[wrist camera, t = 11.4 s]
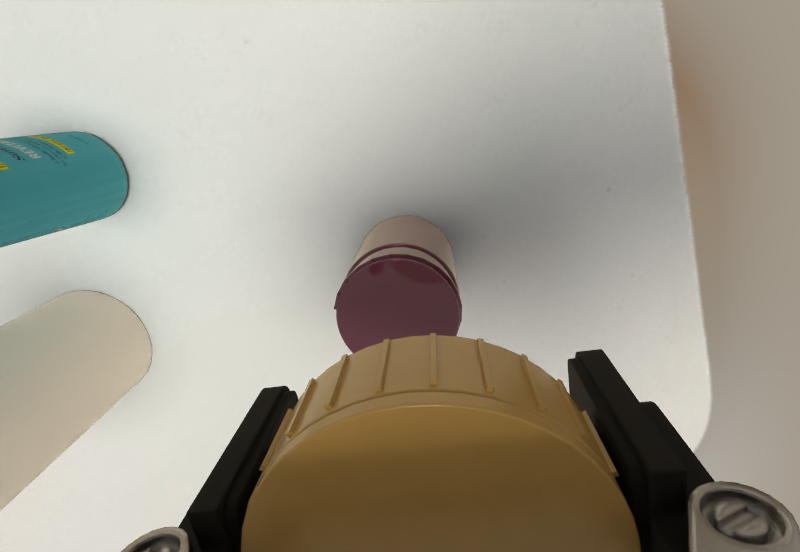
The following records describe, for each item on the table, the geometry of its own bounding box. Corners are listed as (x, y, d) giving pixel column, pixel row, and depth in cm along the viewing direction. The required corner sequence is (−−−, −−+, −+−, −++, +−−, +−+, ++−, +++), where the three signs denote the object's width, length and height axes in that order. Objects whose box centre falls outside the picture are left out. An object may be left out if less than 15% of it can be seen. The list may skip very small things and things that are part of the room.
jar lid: (333, 280, 9) (301, 335, 6) (662, 402, 9) (734, 492, 7) (244, 536, 11) (198, 640, 9) (513, 625, 11) (532, 747, 9)
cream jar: (464, 229, 27) (478, 275, 19) (438, 314, 29) (442, 387, 21) (371, 204, 27) (348, 241, 19) (350, 292, 28) (322, 357, 21)
